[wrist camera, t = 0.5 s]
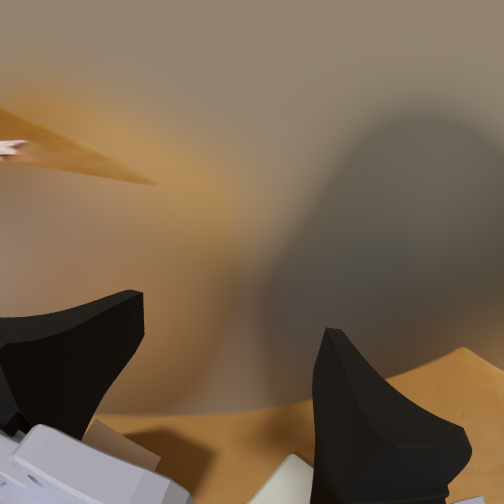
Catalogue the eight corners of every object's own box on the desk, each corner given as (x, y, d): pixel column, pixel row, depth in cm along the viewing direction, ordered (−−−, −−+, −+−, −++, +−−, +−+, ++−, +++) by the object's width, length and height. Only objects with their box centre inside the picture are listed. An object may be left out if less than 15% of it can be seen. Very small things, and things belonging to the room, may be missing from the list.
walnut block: (127, 514, 16) (130, 516, 13) (71, 481, 16) (60, 473, 13) (152, 468, 20) (161, 457, 17) (99, 438, 20) (96, 418, 17)
